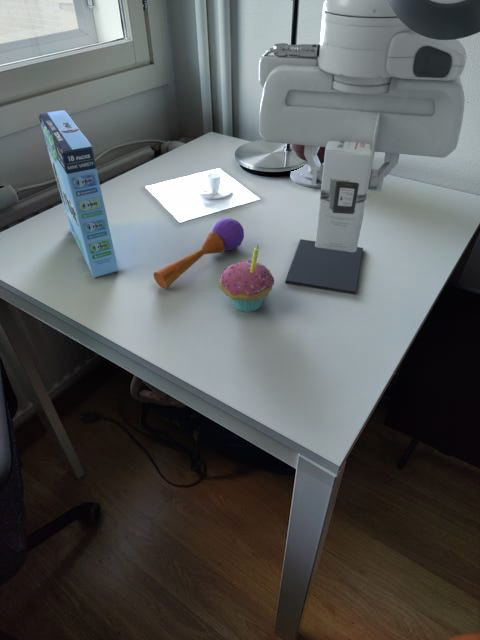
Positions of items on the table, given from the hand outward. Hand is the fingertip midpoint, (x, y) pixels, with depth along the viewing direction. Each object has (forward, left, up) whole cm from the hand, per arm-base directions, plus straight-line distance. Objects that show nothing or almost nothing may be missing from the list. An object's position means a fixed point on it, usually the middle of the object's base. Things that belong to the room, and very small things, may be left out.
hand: (346, 185), depth 52 cm
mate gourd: (+11, -58, -25) cm, 64 cm away
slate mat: (+3, -20, -25) cm, 32 cm away
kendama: (+25, -15, -25) cm, 38 cm away
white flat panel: (+35, -42, -25) cm, 60 cm away
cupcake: (+14, -6, -25) cm, 29 cm away
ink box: (0, 0, -6) cm, 6 cm away
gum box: (+47, -14, -25) cm, 55 cm away
